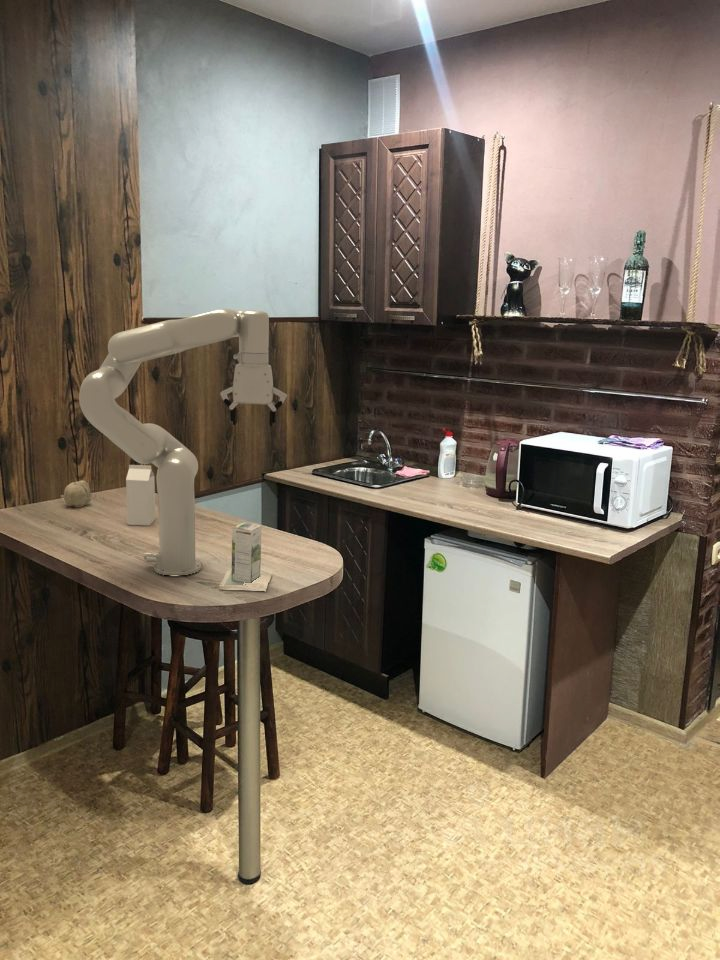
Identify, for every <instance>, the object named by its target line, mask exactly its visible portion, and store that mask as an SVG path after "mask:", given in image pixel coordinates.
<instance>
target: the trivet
mask: <svg viewBox="0 0 720 960" xmlns="http://www.w3.org/2000/svg"><path fill="white" fill-rule="evenodd" d="M231 572H232V570H227V571H226V573H225V574H224V577H223V578H222V581H221V582H220V584H219V586H218V588H219V587H220V586H224V585H228V586H231V585H243V584H244V582H239V581H233V580H231V574H232V573H231ZM260 572H261V573H260V577H261V575H264V574H265V573H262V572H263V571H260ZM221 584H222V585H221ZM245 585H246V584H245ZM226 587H227V586H226Z"/></svg>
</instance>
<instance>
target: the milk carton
mask: <svg viewBox="0 0 720 960" xmlns="http://www.w3.org/2000/svg"><path fill="white" fill-rule="evenodd" d="M152 469H153V468H152V465H146V464H141V465H140V464H138V465H137V464H128V471H127V474H126V478H125V485H126V486H125V489H126V490H125V491H126V493H125V494H126V522H127V523H126V524H127V525H129V526H151V525H152V523H153V522H154V521H156V495H155V493H156V489H155V480H156V479H155V474H154V471H153V470H152Z"/></svg>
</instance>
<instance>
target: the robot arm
mask: <svg viewBox="0 0 720 960" xmlns="http://www.w3.org/2000/svg"><path fill="white" fill-rule="evenodd" d="M269 316H270V315H269V314H268V313H267V311H264V310H241V311H240V310H236V309H231V308H218V309H215V310H212V311H208V312H204V313H200V314H196V315H192V316H189V317H185V318H184V317H183V318H178V319H167V320H164V321H158V322H156V323H151V324H147V325H143V326H140V327H139V326H138V327H135V328H132V329H127V330H124V331H120V332H119V331H118V332H117V333H115V334H114V335H113V334H112V336H111V338H110V339H108V340H109V341H108V344H107V351H108V354H107V355H106V356H105V357H106V358H105V359H104V360H103V362H102V363H101V366H100V367H99V369H97V370H94V371H92V372H90V373H89V374H88V375H86V376H85V378H83V380H82V383H81V384H80V388H79V391H78V392H79V393H78V395H79V396H78V400H79V406H80V409H81V411H82V412H81V413H82V414H83V416H84V417H85V418H86V420H87V421H88V422H89V423H90V424H91V425H92V426H93V427H94V428H95V429H97V430H98V431H99V432H101V434H103V435H104V436H105V437H106V438H107V439H109V440H110V442H112V443H113V444H114V445H115V446H117V447H118V448H119V449H120V450H121V451H123V452H124V453H125V454H126V455H128V456H129V457H130V458H131V459H132V460H133V461H134V462H137V463H139V464H141V465H148V464H152V465H154V466H155V467H156V468H157V470H156V471H157V472H156V475H155V476H156V478H155V480H156V490H157V501H158V502H157V503H158V508H157V509H158V540H159V541H158V543H159V544H158V547H159V551H156V552H154V553H153V552H144V554H143V555H144V556H143V559H144V560H145V561H146V562H147V563H155V564H153V571H154V572H155V573H157V574H158V573H159V574H158V575H160V574H164V575H186V574H191V575H193V574H192V573H194V572H197V571H198V572H200V571H201V569H202V563H201V562H200V561H199V560H197V559H196V503H195V502H196V501H195V500H196V499H195V478H196V476H197V474H198V470H199V462H198V459H197V457H196V456H195V454H194V453H193V452H191V450H190V449H189V448H187V447H186V446H185V445H184V444H183V443H182V442H180V441H179V440H178V439H177V438H175V437H174V436H173V435H172V434H171V433H170V432H168V431H167V430H166V429H165V428H163V427H162V426H160V425H158V424H155V423H142V422H141V421H140V420H138V419H137V418H135V416H133V415H132V413H130V412H129V411H127V410H126V409H125V408H123V407H121V406H120V405H119V404H118V403H117V401H116V400H115V399H117V398H118V397H120V396H121V395H122V394H123V393H124V392H125V390H126V389H127V387H128V386H129V384H130V382H131V381H132V379H133V377H134V376H135V374H136V373H137V370H138V369H139V367H140V366H141V364H142V363H143V362H146V361H150V360H154V359H159V358H163V357H166V356H171V355H175V354H180V353H182V352H185V351H187V350H190V349H194V348H195V349H196V348H198V347H202V346H203V347H204V346H206V345H210V344H214V343H219V342H222V341H227V340H230V339H231V338H238V353H235V354H233V357H232V358H233V360H236V361H238V363H237V364H235V368H234V374H233V383H232V384H233V385H232V386H230V387H228V388H226V389H224V390H222V391H221V392H220V393H219V395H220V397H221V400H222V401H223V403H224V404H225V405H226V406H227V408H229V410H230V422H232V425H233V426H236V425H237V424H238V408H237V406H238V405H239V404H242V405H244V404H245V405H249V404H250V405H266V406H268V407H269V409H270V411H269V424H268V425H269V427H270V428H271V427H273V426H274V424H276V422H277V411H278V409H279V408H280V407H282V405H283V404H284V402H285V400H286V399H287V397H288V395H287V393H285V392H283V391H282V390H280V389H278V388H276V387H274V379H273V370H272V366H271V364H269V352H270V351H269V349H270V347H269V339H270V334H269V333H270V330H269V329H270V324H269V323H270V320H269V319H270V318H269ZM230 393H232V400H233V401H231V399H230V398H229V397H228V394H230ZM274 395H276V396H278V397H279V400H278V402H276V403H275V402H274V401H273V400H274ZM199 570H200V571H199ZM198 572H197V573H198ZM194 574H195V573H194ZM164 575H163V576H164Z"/></svg>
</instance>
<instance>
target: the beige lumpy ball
mask: <svg viewBox="0 0 720 960" xmlns="http://www.w3.org/2000/svg"><path fill="white" fill-rule="evenodd" d="M91 494H92V493H91V487H90V485H89V483H88V482H87V481H85V480H78V481H73V482H71V483H69V484H68V485H66V486H65V488H64V491H63V494H61V495H60V498H61V499H63V500H64V502H65V504H66V505H67V506H68V507H74V506H75V508H83V507H85V506H87V505H88V504H89V503H91V502H92V498H91V497H92V495H91Z"/></svg>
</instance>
